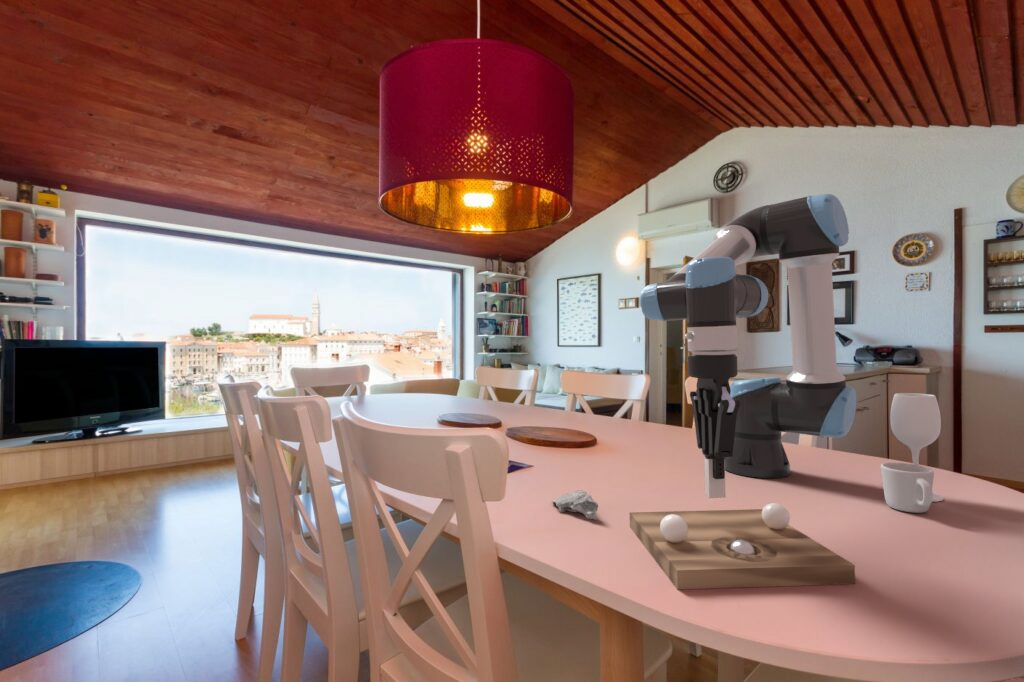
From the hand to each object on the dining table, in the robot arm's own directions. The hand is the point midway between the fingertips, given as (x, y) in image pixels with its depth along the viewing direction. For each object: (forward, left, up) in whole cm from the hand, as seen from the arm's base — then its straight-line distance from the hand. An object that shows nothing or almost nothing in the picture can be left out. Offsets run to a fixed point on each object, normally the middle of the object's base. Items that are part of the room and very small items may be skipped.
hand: (715, 496), depth 80 cm
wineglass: (-19, +51, -7) cm, 55 cm away
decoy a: (+3, +8, -3) cm, 9 cm away
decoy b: (+7, -10, -3) cm, 12 cm away
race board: (+5, -1, -7) cm, 8 cm away
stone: (-16, -21, -8) cm, 27 cm away
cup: (-10, +42, -7) cm, 44 cm away
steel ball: (+9, -1, -5) cm, 11 cm away
